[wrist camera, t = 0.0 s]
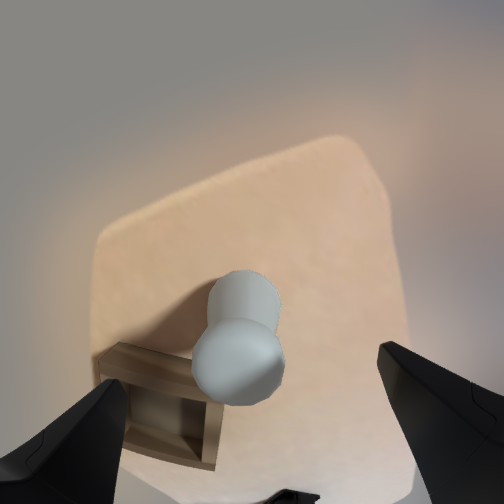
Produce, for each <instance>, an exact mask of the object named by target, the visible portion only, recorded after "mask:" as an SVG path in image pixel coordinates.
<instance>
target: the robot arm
mask: <svg viewBox="0 0 504 504" xmlns="http://www.w3.org/2000/svg"><path fill="white" fill-rule="evenodd" d="M377 366H378V370H379V373H380V375H381V378H382V381H383V384H384V387H385V390H386V393H387V396H388V399H389V402H390V404H391V407H392V409H393V411H394V413H395V415H396V418H397V420H398V422H399V424H400V426H401V428H402V431H403V433H404V435H405V437H406V440H407V442H408V444H409V447H410V449H411V451H412V454H413V456H414V458H415V461H416V463H417V465H418V468H419V470H420V473H421V475H422V478H423V480H424V483H425V485H426V488H427V491H428V493H429V495H430V499H431V501H432V504H504V396H502V395H499V394H496V393H494V392H492V391H489V390H487V389H485V388H483V387H481V386H479V385H476V384H475V383H473V382H471V383H470V381H468V380H467V379H465V378H463V377H461V376H459V375H457V374H455V373H453V372H451V371H449V370H447V369H445V368H443V367H441V366H439V365H437V364H435V363H433V362H431V361H430V360H428V359H425V358H424V357H422V356H420V355H418V354H416V353H414V352H412V351H410V350H408V349H406V348H405V347H403V346H401V345H399V344H397V343H395V342H393V341H388V342H385V343H382V344H380V346H379V352H378V359H377ZM127 408H128V394H127V392H126V390H125V389H124V387H123V386H122V384H121V382H120V381H119V380H118V379H116V378H107V379H106V380H104V381H103V382H102V383H101V384H100V385H98V386H97V387H96V388H95V389H93V390H92V391H91V392H90V393H88V394H87V395H86V396H85V397H83V398H82V399H81V400H80V401H78V402H77V403H76V404H75V405H73V406H72V407H71V408H70V409H68V410H67V411H66V412H65V413H63V414H62V415H61V416H60V417H58V418H57V419H56V420H54V421H53V422H52V423H51V424H49V425H48V426H47V427H46V428H45V429H43V430H42V431H41V432H39V433H38V434H37V435H36V436H34V437H33V438H31V439H30V440H29V441H27V442H26V443H25V444H23V445H21V446H20V447H18V448H17V449H15V450H14V451H12V452H10V453H9V454H7V455H5V456H4V457H2V458H0V504H113V502H114V493H115V487H116V480H117V473H118V468H119V462H120V456H121V451H122V446H123V441H124V435H125V428H126V417H127ZM318 499H320V495H315V494H309V493H303V492H298V491H292V490H287V489H286V490H283V491H282V492H280V493H279V494H277V495H276V496H275V497H273V498H272V499H270V500H269V501H267V502H266V503H264V504H315V501H317V500H318Z"/></svg>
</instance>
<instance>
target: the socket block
mask: <svg viewBox="0 0 504 504" xmlns="http://www.w3.org/2000/svg"><path fill="white" fill-rule="evenodd" d="M98 362H99V372H100V381H101V383H102V382H103V381H104V380H106V379H107V378H116V379H118V380H119V381H120V382H121V384H122V386H123V387H124V389H125V390H126V392H127V394H128V408H127V417H126V428H125V435H124V441H123V446H122V448H124V449H127V450H130V451H133V452H136V453H139V454H142V455H145V456H149V457H152V458H156V459H159V460H163V461H167V462H171V463H175V464H179V465H184V466H188V467H193V468H198V469H204V470H209V471H215V466H216V459H217V453H218V447H219V440H220V433H221V426H222V418H223V411H224V403H221V402H218V401H215V400H213V399H211V398H210V397H209V396H208V395H207V394H206V393H204V392H203V391H202V390H201V389H200V388H199V387H198V385H197V383H196V381H195V379H194V377H193V375H192V372H191V369H192V360H191V359H186V358H182V357H177V356H172V355H168V354H164V353H159V352H155V351H151V350H147V349H143V348H139V347H136V346H132V345H128V344H125V343H121V342H119V343H117V344H116V345H115V346H114V347H113V348H112V349H111V350H110V351H108V352H107V353H106V354H105V355H104V356H103V357H102V358H101V359H100V360H98Z"/></svg>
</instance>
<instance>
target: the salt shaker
mask: <svg viewBox="0 0 504 504" xmlns="http://www.w3.org/2000/svg"><path fill="white" fill-rule="evenodd" d="M281 305H282V303H281V299H280V296H279V293H278V289H277V287H276V286H275V285H274V284H273V283H272V282H271V281H270V280H269V279H268V278H267V277H266V276H264V275H262V274H259V273H256V272H254V271H251V270H242V271H232V272H230V273H229V274H227V275H225V276H223V277H221V278H219V279H218V280H217V281H216V283H215V284H214V286H213V288H212V289H211V291H210V292H209V297H208V304H207V322H208V327H207V328H206V329H205V331H204V332H203V334H202V335H201V337H200V338H199V340H198V341H197V343H196V344H195V346H194V347H193V357H192V369H191V372H192V375H193V377H194V379H195V381H196V383H197V385H198V387H199V388H200V389H201V390H202V391H203V392H204V393H206V394H207V395H208V396H209V397H210V398H211V399H213V400H215V401H218V402H221V403H224V404H227V405H230V406H249V405H254V404H256V403H258V402H260V401H263V400H265V399H267V398H269V397H270V396H271V395H272V394H273V393H274V391H275V390H276V389H277V388H278V387H279V386H280V385H281V382H282V377H283V373H284V368H285V361H286V360H285V357H284V354H283V350H282V347H281V344H280V341H279V338H278V337H277V336H276V335H275V334H276V330H277V326H278V321H279V317H280V311H281Z"/></svg>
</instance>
